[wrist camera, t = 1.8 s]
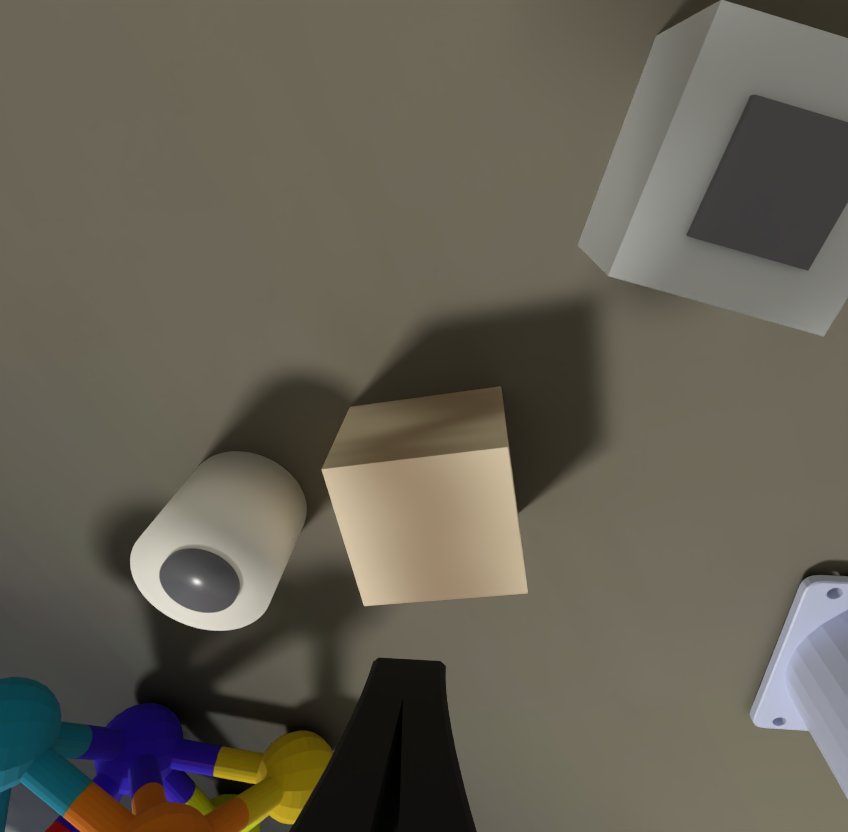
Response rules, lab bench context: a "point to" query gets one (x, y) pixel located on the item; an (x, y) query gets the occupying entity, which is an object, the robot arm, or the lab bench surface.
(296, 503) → the offwhite stopper
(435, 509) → the beech block
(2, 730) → the molecular model
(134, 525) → the lab bench surface
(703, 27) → the grey labelled block
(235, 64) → the lab bench surface
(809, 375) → the lab bench surface
